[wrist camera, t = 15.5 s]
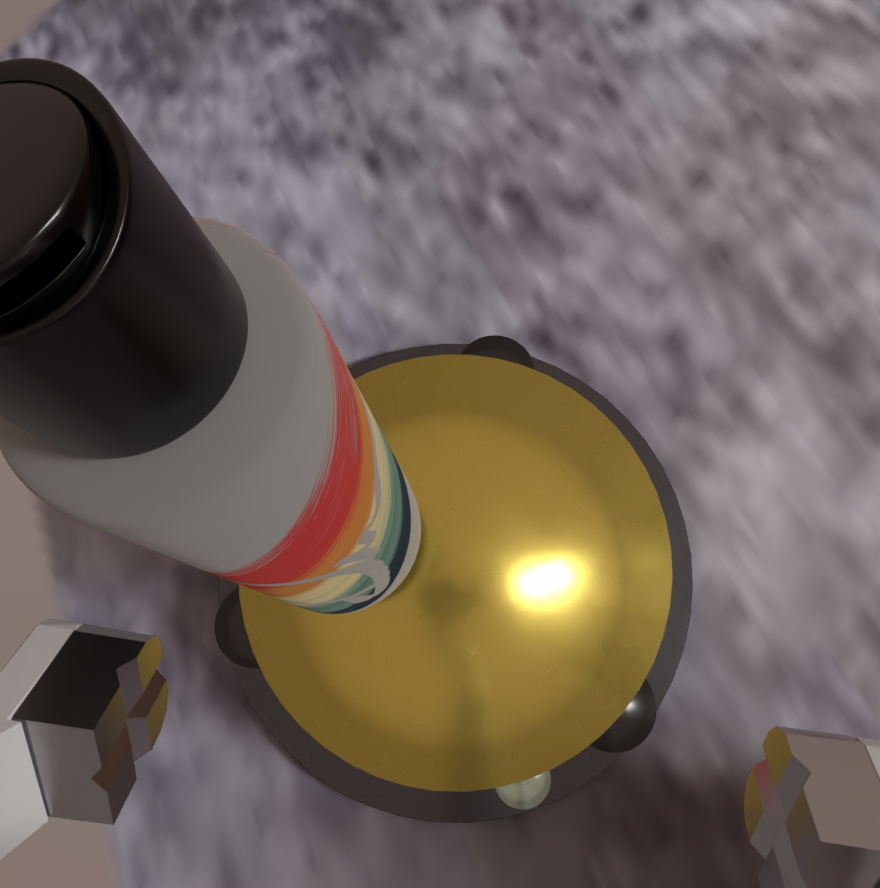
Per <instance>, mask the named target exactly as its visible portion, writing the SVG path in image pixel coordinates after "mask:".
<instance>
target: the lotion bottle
mask: <svg viewBox="0 0 880 888" xmlns="http://www.w3.org/2000/svg"><path fill="white" fill-rule="evenodd" d="M0 449H1V452H2V453H3V455H4V457H5V459H6V461H7V463H8V464H9V466H10V467H11V469H12V470H13V471H14V473H15V474H16V476H17V477H18V478H19V479H20V480H21V481H22V482H23V483H24V485H25V486H26V487H27V488H28V489H30V490H31V491H32V492H33V493H34V494H35V495H37V496H38V497H39V498H40V499H41V500H43V501H44V502H45V503H47V504H48V505H50V506H51V507H53V508H54V509H56V510H57V511H59V512H61V513H63V514H65V515H67V516H69V517H71V518H73V519H75V520H77V521H79V522H81V523H84V524H86V525H88V526H91V527H93V528H95V529H98V530H100V531H103V532H105V533H108V534H110V535H113V536H115V537H118V538H120V539H123V540H126V541H128V542H131V543H133V544H136V545H138V546H141V547H144V548H146V549H149V550H151V551H154V552H157V553H159V554H162V555H164V556H167V557H170V558H172V559H175V560H177V561H180V562H183V563H185V564H188V565H190V566H193V567H196V568H198V569H201V570H203V571H206V572H209V573H211V574H214V575H216V576H219V577H222V578H224V579H227V580H229V581H232V582H235V583H237V584H240V585H242V586H245V587H248V588H250V589H253V590H255V591H258V592H261V593H263V594H266V595H268V596H271V597H274V598H276V599H279V600H281V601H284V602H287V603H289V604H292V605H294V606H297V607H300V608H303V609H306V610H310V611H314V612H318V613H325V614H346V613H352V612H356V611H360V610H363V609H366V608H368V607H370V606H373V605H375V604H376V603H378V602H380V601H381V600H383V599H384V598H386V597H387V596H388V595H390V594H391V593H392V592H393V591H394V590H395V589H396V588H397V587H398V586H399V585H400V584H401V583H402V581H403V580H404V579H405V577H406V576H407V574H408V573H409V571H410V569H411V567H412V565H413V563H414V561H415V558H416V556H417V553H418V549H419V545H420V539H421V520H420V513H419V508H418V504H417V501H416V498H415V496H414V493H413V491H412V489H411V487H410V485H409V482H408V480H407V478H406V477H405V475H404V473H403V471H402V469H401V467H400V465H399V463H398V461H397V460H396V458H395V456H394V454H393V452H392V450H391V448H390V446H389V445H388V443H387V441H386V439H385V437H384V435H383V433H382V431H381V430H380V428H379V426H378V424H377V422H376V420H375V418H374V416H373V415H372V413H371V411H370V409H369V407H368V405H367V403H366V401H365V400H364V398H363V396H362V394H361V392H360V390H359V388H358V386H357V385H356V383H355V381H354V379H353V377H352V375H351V373H350V372H349V370H348V368H347V366H346V364H345V362H344V360H343V358H342V357H341V355H340V353H339V351H338V349H337V347H336V345H335V343H334V342H333V340H332V338H331V336H330V334H329V332H328V330H327V329H326V327H325V325H324V323H323V321H322V320H321V318H320V316H319V314H318V312H317V311H316V309H315V307H314V305H313V304H312V302H311V300H310V298H309V297H308V295H307V293H306V292H305V290H304V288H303V287H302V285H301V284H300V282H299V280H298V279H297V277H296V276H295V275H294V273H293V272H292V271H291V269H290V268H289V267H288V266H287V265H286V263H285V262H284V261H283V260H282V259H281V258H280V257H279V256H278V255H277V254H276V253H275V252H274V251H272V250H271V249H270V248H269V247H268V246H267V245H265V244H264V243H263V242H261V241H260V240H258V239H257V238H255V237H254V236H252V235H251V234H249V233H247V232H245V231H243V230H241V229H240V228H237V227H235V226H232V225H230V224H227V223H224V222H221V221H217V220H214V219H209V218H204V217H199V216H191V215H190V213H189V212H188V210H187V209H186V208H185V206H184V205H183V203H182V202H181V201H180V199H179V198H178V197H177V195H176V194H175V192H174V191H173V190H172V188H171V187H170V186H169V184H168V183H167V181H166V180H165V179H164V177H163V176H162V174H161V173H160V172H159V170H158V169H157V168H156V166H155V165H154V163H153V162H152V161H151V159H150V158H149V156H148V155H147V154H146V152H145V151H144V150H143V148H142V147H141V145H140V144H139V143H138V141H137V140H136V138H135V137H134V136H133V134H132V133H131V132H130V130H129V129H128V127H127V126H126V125H125V123H124V122H123V120H122V119H121V118H120V116H119V115H118V114H117V112H116V111H115V110H114V108H113V107H112V106H111V104H110V103H109V102H108V100H107V99H106V98H105V97H104V96H103V95H102V93H101V92H100V91H99V90H98V89H97V88H96V87H95V86H94V85H93V84H92V83H91V82H90V81H88V80H87V79H86V78H85V77H84V76H82V75H81V74H79V73H78V72H76V71H74V70H73V69H71V68H69V67H67V66H65V65H62V64H60V63H57V62H53V61H50V60H44V59H36V58H22V59H11V60H6V61H1V62H0Z"/></svg>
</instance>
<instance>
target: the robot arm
mask: <svg viewBox="0 0 880 888" xmlns="http://www.w3.org/2000/svg"><path fill="white" fill-rule="evenodd" d="M162 658H163V651H162V646H161V640H160V638H157V637H155V636H151V635H145V634H139V633H133V632H127V631H122V630H116V629H110V628H104V627H99V626H93V625H87V624H78V623H72V622H66V621H60V620H54V619H47V620H45V621H43V622H42V623H40V624H39V625H37V626H36V627H35V628H34V629H33V631H32V632H31V633H30V635H29V636H28V637H27V639H26V640H25V641H24V642H23V643H22V645H21V646H20V647H19V649H18V650H17V651H16V653H15V654H14V655H13V656H12V658H11V659H10V660H9V661H8V663H7V664H6V665H5V667H4V668H3V669H2V671H1V672H0V859H1V858H3V857H4V856H5V855H7V854H8V853H9V852H10V851H11V850H13V849H14V848H15V847H16V846H18V845H19V844H20V843H21V842H23V841H24V840H25V839H26V838H27V837H28V836H30V835H31V834H32V833H34V832H35V831H36V830H37V829H39V828H40V827H41V826H42V825H43V824H45V823H46V822H47V821H48V816H50V817H57V818H64V819H72V820H80V821H88V822H96V823H103V824H111V825H114V823H115V821H116V819H117V817H118V815H119V813H120V811H121V809H122V807H123V805H124V803H125V801H126V799H127V797H128V795H129V793H130V791H131V789H132V787H133V786H134V784H135V782H136V780H137V778H136V771H135V765H134V761H136V760H137V759H139V758H140V757H142V756H143V755H145V754H146V753H147V752H149V751H150V750H152V748H153V746H154V743H155V741H156V739H157V737H158V735H159V733H160V731H161V727H162V724H163V720H164V717H165V713H166V710H167V699H168V688H167V680H166V679H165V678H164V676H163V675H162V674H161V673H160V672H159V671H158V670H157V667H158V665H159V663H160V662H161V660H162ZM763 747H764V751H765V755H766V758H767V759H766V760H764V761H762V762H760V763H759V764H757V765H755V766H753V767H752V770H751V772H750V775H749V777H748V780H747V782H746V786H745V796H744V815H745V824H746V828H747V833H748V837H749V842H750V843H751V844H752V845H753V846H754V847H755V848H756V850H757V851H758V852H759V853H760V854H761V855H762V856H763V858H764V859H765V862H764V864H763V866H762V868H761V870H760V872H759V874H758V879H759V883H760V887H761V888H880V740H872V739H865V738H858V737H855V738H853V737H851V736H847V735H839V734H832V733H824V732H817V731H810V730H802V729H795V728H787V727H780V726H776V727H774V728H773V729H772V730H770V731H769V732H768V735H767V737H766V739H765V741H764V743H763Z"/></svg>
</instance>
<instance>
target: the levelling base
mask: <svg viewBox="0 0 880 888" xmlns="http://www.w3.org/2000/svg"><path fill="white" fill-rule="evenodd" d="M349 372H350V373H351V375H352V377H353V379H354V381H355V383H356V385H357V386H358V388H359V390H360V392H361V394H362V396H363V398H364V400H365V401H366V403H367V405H368V407H369V409H370V411H371V413H372V415H373V416H374V418H375V420H376V422H377V424H378V426H379V428H380V430H381V431H382V433H383V435H384V437H385V439H386V441H387V443H388V445H389V446H390V448H391V450H392V452H393V454H394V456H395V458H396V460H397V461H398V463H399V465H400V467H401V469H402V471H403V473H404V475H405V477H406V478H407V480H408V482H409V485H410V487H411V489H412V491H413V493H414V496H415V498H416V501H417V504H418V508H419V513H420V520H421V539H420V545H419V549H418V553H417V556H416V558H415V561H414V563H413V565H412V567H411V569H410V571H409V573H408V574H407V576H406V577H405V579H404V580H403V581H402V583H401V584H400V585H399V586H398V587H397V588H396V589H395V590H394V591H393V592H392V593H391V594H390V595H388V596H387V597H386V598H384V599H383V600H381V601H380V602H378V603H376V604H375V605H373V606H370V607H368V608H366V609H363V610H360V611H356V612H352V613H346V614H325V613H318V612H314V611H310V610H306V609H303V608H300V607H297V606H294V605H292V604H289V603H287V602H284V601H281V600H279V599H276V598H274V597H271V596H268V595H266V594H263V593H261V592H258V591H255V590H253V589H250V588H248V587H245V586H242V585H240V584H237V583H235V582H232V581H229V580H227V579H224V578H222V577H219V576H218V582H219V606H220V608H219V610H218V612H217V616H216V620H215V634H216V639H217V642H218V644H219V647H220V649H221V650H222V652H223V653H224V654H225V655H226V657H228V658H229V659H230V660H231V661H232V663H233V667H234V670H235V672H236V674H237V676H238V678H239V681H240V683H241V685H242V687H243V689H244V691H245V694H246V696H247V698H248V700H249V701H250V703H251V704H252V706H253V708H254V709H255V711H256V712H257V714H258V715H259V717H260V718H261V720H262V722H263V723H264V725H265V726H266V727H267V729H268V730H269V731H270V732H271V733H272V735H273V736H274V737H275V738H276V739H277V740H278V742H279V743H280V744H281V745H282V746H283V747H284V749H285V750H286V751H287V752H288V753H289V754H290V755H291V756H293V757H294V758H295V759H296V760H297V761H298V762H299V763H300V764H302V765H303V766H304V767H305V768H306V769H307V770H308V771H309V772H311V773H312V774H313V775H315V776H316V777H318V778H319V779H321V780H322V781H324V782H325V783H327V784H328V785H330V786H331V787H333V788H334V789H336V790H337V791H339V792H341V793H343V794H345V795H347V796H349V797H351V798H353V799H355V800H357V801H359V802H361V803H363V804H365V805H367V806H370V807H373V808H376V809H379V810H382V811H386V812H389V813H392V814H395V815H398V816H402V817H408V818H413V819H419V820H425V821H431V822H457V823H469V822H477V821H486V820H495V819H501V818H505V817H509V816H513V815H517V814H520V813H524V812H528V811H532V810H534V809H537V808H539V807H541V806H544V805H546V804H548V803H551V802H553V801H556V800H558V799H560V798H563V797H564V796H566V795H568V794H569V793H571V792H573V791H574V790H576V789H578V788H579V787H581V786H583V785H584V784H586V783H588V782H589V781H591V780H592V779H593V778H595V777H596V776H597V775H598V774H600V773H601V772H602V771H603V770H605V769H606V768H607V767H608V766H609V765H611V764H612V763H613V762H614V761H616V760H617V759H618V758H619V757H620V756H621V754H622V753H623V752H625V751H628V750H631V749H633V748H635V747H636V746H638V745H639V744H641V743H642V742H643V741H644V740H645V739H646V738H647V736H648V735H649V733H650V732H651V730H652V728H653V725H654V722H655V718H656V711H657V710H658V708H659V706H660V704H661V702H662V700H663V698H664V696H665V694H666V692H667V690H668V688H669V686H670V685H671V683H672V681H673V678H674V675H675V673H676V670H677V667H678V664H679V661H680V658H681V656H682V653H683V650H684V646H685V641H686V636H687V631H688V627H689V622H690V615H691V602H692V589H693V583H692V565H691V553H690V547H689V542H688V537H687V531H686V526H685V522H684V519H683V516H682V513H681V510H680V507H679V504H678V500H677V497H676V495H675V492H674V490H673V488H672V486H671V484H670V482H669V480H668V478H667V475H666V473H665V471H664V469H663V467H662V465H661V464H660V462H659V461H658V459H657V458H656V456H655V454H654V453H653V451H652V450H651V448H650V447H649V445H648V443H647V442H646V441H645V439H644V438H643V437H642V436H641V435H640V433H639V432H638V431H637V430H636V429H635V427H634V426H633V425H632V424H631V423H630V421H629V420H628V419H627V418H626V417H625V416H624V415H623V414H622V413H621V412H620V411H619V410H618V409H616V408H615V407H614V406H613V405H612V404H611V403H610V402H609V401H608V400H607V399H606V398H605V397H603V396H602V395H600V394H599V393H598V392H596V391H595V390H594V389H592V388H591V387H589V386H588V385H587V384H585V383H584V382H583V381H581V380H579V379H577V378H576V377H574V376H572V375H570V374H568V373H567V372H565V371H563V370H561V369H559V368H558V367H556V366H553V365H551V364H548V363H546V362H543V361H541V360H538V359H536V358H533V357H531V356H530V355H529V353H528V352H527V351H526V349H525V348H524V347H523V346H522V345H520V344H519V343H518V342H516V341H514V340H512V339H510V338H507V337H503V336H486V337H482V338H479V339H477V340H475V341H473V342H472V343H470V344H439V345H429V346H420V347H413V348H409V349H405V350H400V351H396V352H392V353H388V354H385V355H382V356H379V357H377V358H374V359H371V360H369V361H366V362H363V363H360V364H358V365H356V366H354V367H353V368H351V369H349Z"/></svg>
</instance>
